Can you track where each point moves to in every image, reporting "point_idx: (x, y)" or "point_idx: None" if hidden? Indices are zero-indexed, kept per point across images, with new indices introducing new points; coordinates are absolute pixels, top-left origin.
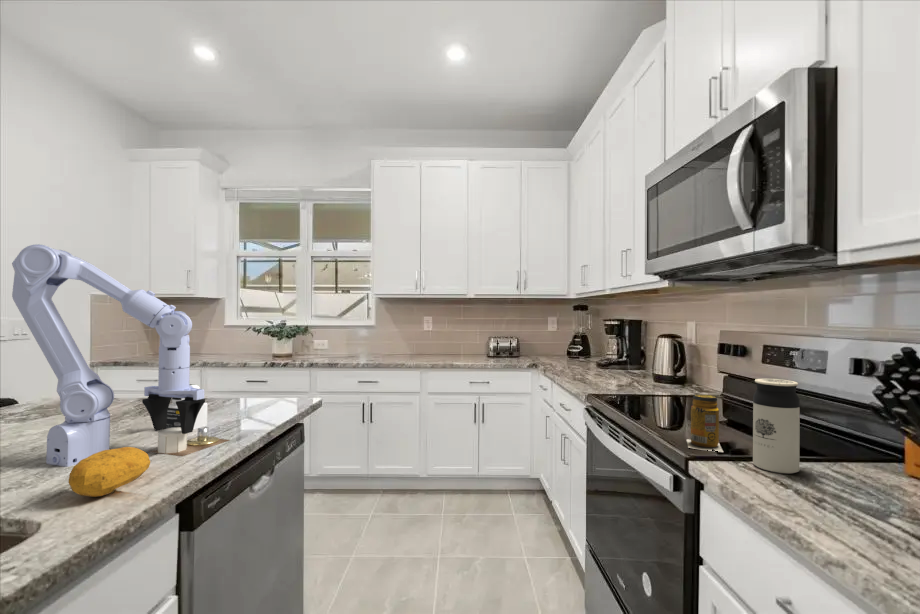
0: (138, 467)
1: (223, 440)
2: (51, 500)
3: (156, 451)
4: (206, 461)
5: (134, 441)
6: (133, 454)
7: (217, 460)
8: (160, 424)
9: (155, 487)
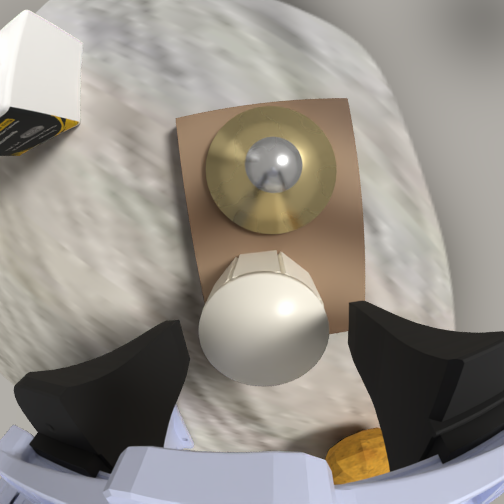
0: None
1: (328, 114)
2: None
3: None
4: (415, 278)
5: (28, 242)
6: None
7: (435, 257)
8: (178, 359)
9: None
